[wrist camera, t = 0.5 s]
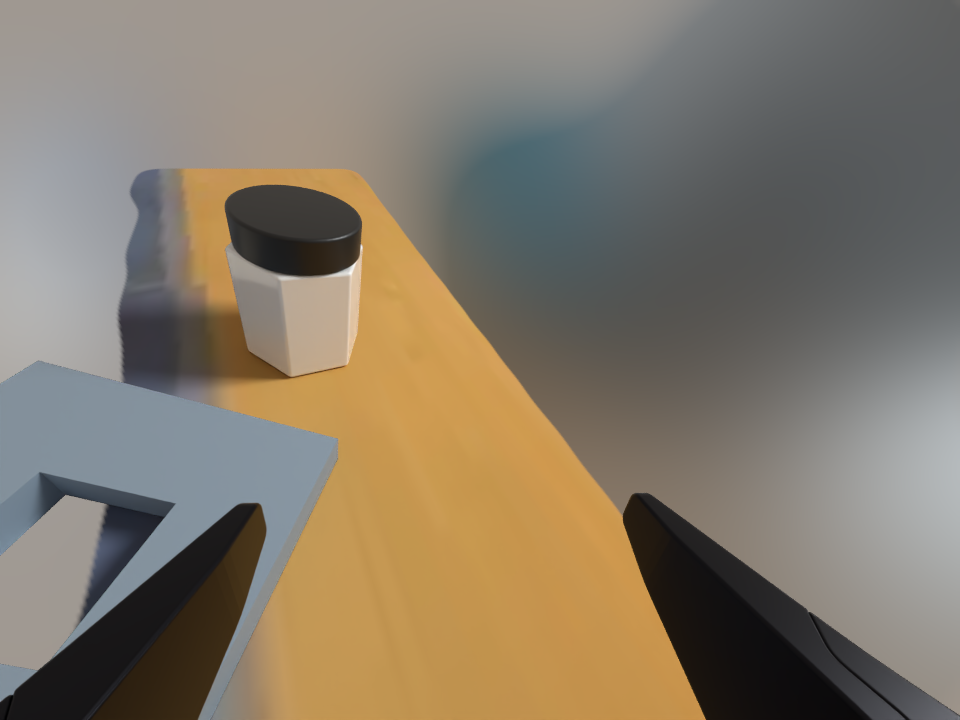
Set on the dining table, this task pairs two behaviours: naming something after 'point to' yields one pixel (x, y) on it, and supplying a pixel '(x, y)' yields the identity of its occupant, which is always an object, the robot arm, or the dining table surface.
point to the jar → (295, 275)
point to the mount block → (153, 479)
